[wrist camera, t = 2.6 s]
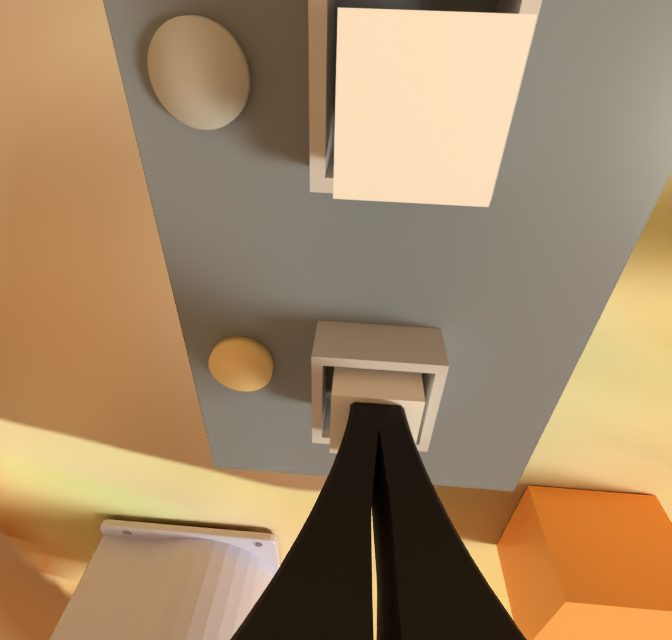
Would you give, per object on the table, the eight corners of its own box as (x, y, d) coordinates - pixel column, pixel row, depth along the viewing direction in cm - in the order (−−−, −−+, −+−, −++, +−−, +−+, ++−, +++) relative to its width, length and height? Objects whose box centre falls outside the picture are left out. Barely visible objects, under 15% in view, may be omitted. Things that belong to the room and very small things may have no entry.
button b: (341, 161, 8) (332, 198, 7) (345, 7, 7) (337, 7, 5) (465, 167, 8) (488, 207, 6) (497, 13, 7) (537, 14, 5)
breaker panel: (223, 443, 18) (201, 504, 16) (47, -405, 6) (-135, -634, 4) (505, 465, 18) (525, 531, 15) (896, -409, 6) (1227, -675, 4)
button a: (334, 401, 14) (329, 452, 12) (336, 345, 12) (331, 395, 11) (408, 406, 14) (412, 459, 12) (418, 350, 12) (425, 402, 11)
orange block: (496, 545, 22) (521, 653, 18) (528, 485, 18) (565, 601, 15) (604, 555, 21) (651, 666, 18) (655, 495, 18) (725, 616, 15)
